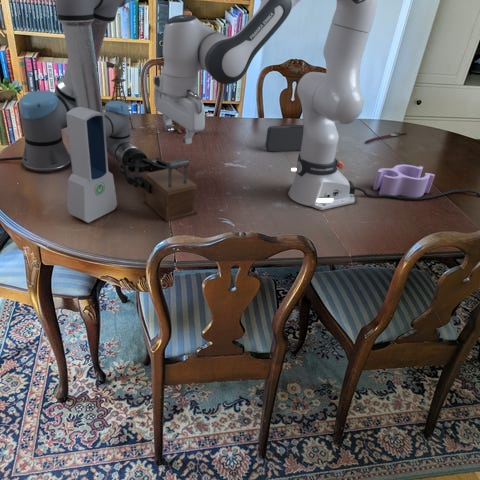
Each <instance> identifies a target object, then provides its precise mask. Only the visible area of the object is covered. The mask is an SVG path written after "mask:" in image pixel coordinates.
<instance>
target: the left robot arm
mask: <svg viewBox="0 0 480 480" xmlns="http://www.w3.org/2000/svg"><path fill="white" fill-rule="evenodd" d="M128 2H129V0H55V9H56V16H57V21H58V22H59V23H60V24H61V25H62V28H63V35H64V39H65V47H66V51H67V52H66V53H67V62H66V67H65V69H64V74H63V77H61V78H59V79H58V80H57V82H56V85H55V90H54V91H51V90H44V89H43V90H41V89H40V90H34V91H30V92H27V93H25V94H23V95H22V96H21V97H20V99H19V103H18V105H19V115H20V120H21V125H22V132H23V137H24V148H23V153H22V156H14V157H1V158H0V162H6V161H20V160H21V161H22V166H23V168H24V169H25V170H27V171H29V172H33V173H39V174H46V173H56V172H61V171H63V170H66V169H67V168H69V167H70V166H71V165H72V163H71V154H70V152H69V151H68V150H67V149H68V148H67V147H66V145H65V143H64V140H63V132H62V130H63V129H66V128H68V127H67V118H66V113H67V112H68V111H70V110H71V109H73V108H77V107H84V108H88V109H91V110H94V111H97V112H100V113H103V114H104V115H105V130H106V145H107V154H108V155H109V156H111V157H112V158H113V159H115V160H116V161H117V162H119V163H120V173H121V174H122V175H124V178H125V180H126V182H127V185H129V186H131V185H133V184H134V187H135V188H137V187H139V188H142V189H143V190H145V192H146V191H147V192H148V193H152V190H151V184H150V183H149V182H148V181H146V178H144V176H142V175H140V174H142V173H150V172H155V171H160V170H165V169H168V168H167V162H168V161H164V160H162V159H161V157H160V158H159V157H155V160H152V159H149V158H148V157H147V155H146V154H145V152H143V151H142V150H140V149H139V148H138V147H137V146H136V145H134V144H133V143H132V142H131V123H130V116H131V114H130V115H129V112H130V106H129V105H128V103H127V104H126V103H125V101H123V100H122V101H120V100H117V101H116V100H113V101H112V100H109V101H108V102H106V104H105V108H103V102H102V96H101V95H102V94H101V87H100V79H99V72H98V65H97V64H98V63H97V62H98V60H99V56H100V53H101V51H102V46H103V43H104V40H105V35H106V33H107V29H108V26H109V24H110V23H113V22H115V20H116V17H117V14H118V11H119V8H123V7H124V6H125V5H126V4H127V3H128ZM103 109H104V110H103ZM176 170H177V171H178V168H176ZM131 173H133V174H134V175H133V176H132V174H131Z"/></svg>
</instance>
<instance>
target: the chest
mask: <svg viewBox="0 0 480 480" xmlns="http://www.w3.org/2000/svg"><path fill="white" fill-rule="evenodd" d="M145 180H146V181H148V182H149V183H150V184H151V190H152V193H148V192H147V191H146V190H145V203H146V204H147V205H148V206H149V207H151V209H152V210H153V211H155V212H156V213H157V214H158V216H160V217H161V218H163V219H164V221H166V222H169V221H171V220H176V219H179V218H182V217H186V216H190V215H194V214H195V205H196V189H192V190H187V191H183V192H179V193H175V194H171V195H167V194H165V193H164V192H163V191H162V190H161V189H159V188H158V187H157V186H156V185H155V184H153V183H152V182H151V181H150V180H149V179H148V178H146V177H145Z"/></svg>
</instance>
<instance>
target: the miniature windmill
mask: <svg viewBox="0 0 480 480" xmlns="http://www.w3.org/2000/svg"><path fill="white" fill-rule="evenodd" d="M105 65H106V68H107V69H113V68H114V70H115V71H114V73H115V78H113V79H111V80H110V81H111V82H112V83H114V85H113V86H112V88H113V90H112V96H111V100H110V101H122V102H123V101H124V102H125V103H126V104H127V105H128V101H127V96H126V93H125V90H124V86H123V83H124V82H125V81H127V79H125V78H123V76H124V74H125V70H124V69H126V67H125V65H126V63H125V60H124V56H121V53H119V54H118V56H116V60H115V63H113V62H111V61H107V60H106V64H105ZM121 91H122V92H121ZM118 92H119V95H118ZM122 94H123V95H122ZM129 115H130V128H131V129H134V125H133V119H132V116H131V112H130V111H129Z"/></svg>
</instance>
